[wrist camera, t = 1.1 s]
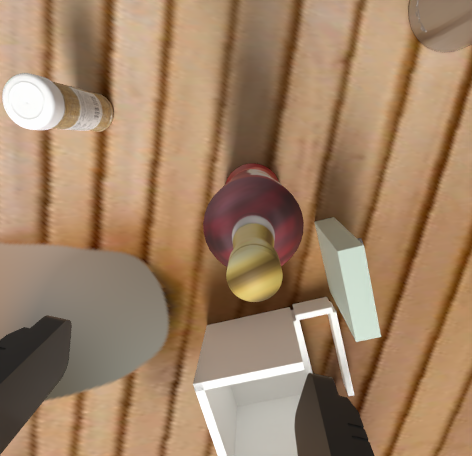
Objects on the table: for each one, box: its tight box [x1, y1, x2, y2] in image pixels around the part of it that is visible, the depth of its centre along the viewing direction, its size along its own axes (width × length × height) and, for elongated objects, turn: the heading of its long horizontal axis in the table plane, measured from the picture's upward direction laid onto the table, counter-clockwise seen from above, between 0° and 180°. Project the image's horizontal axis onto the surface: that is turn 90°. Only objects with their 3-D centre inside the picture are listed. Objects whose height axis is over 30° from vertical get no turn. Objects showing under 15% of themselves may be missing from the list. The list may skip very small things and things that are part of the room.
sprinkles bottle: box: [2, 73, 113, 132], centre depth 35 cm, size 5×5×14 cm
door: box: [315, 217, 381, 342], centre depth 39 cm, size 3×10×12 cm, turn 15°
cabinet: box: [193, 297, 354, 456], centre depth 43 cm, size 18×16×13 cm
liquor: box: [203, 163, 303, 302], centre depth 30 cm, size 7×7×28 cm
